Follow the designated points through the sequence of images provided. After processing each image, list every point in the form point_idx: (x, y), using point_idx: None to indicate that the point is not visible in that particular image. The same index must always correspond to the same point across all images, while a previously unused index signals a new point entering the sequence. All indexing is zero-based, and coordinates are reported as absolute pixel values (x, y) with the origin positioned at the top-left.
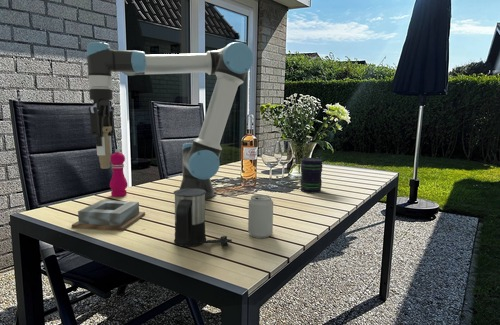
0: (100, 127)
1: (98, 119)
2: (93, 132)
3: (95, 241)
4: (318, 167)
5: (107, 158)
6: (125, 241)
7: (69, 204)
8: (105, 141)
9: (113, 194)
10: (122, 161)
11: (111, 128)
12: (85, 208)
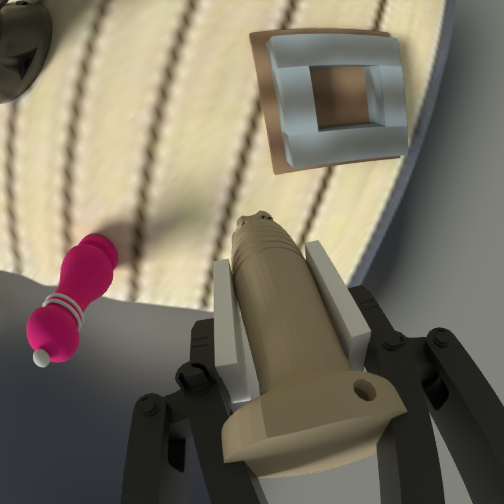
0: (424, 411)
1: (501, 454)
2: (439, 375)
3: (441, 65)
4: None
5: (278, 232)
6: (425, 11)
7: None
8: (317, 310)
9: (116, 258)
10: (49, 307)
11: (275, 414)
12: (384, 152)
